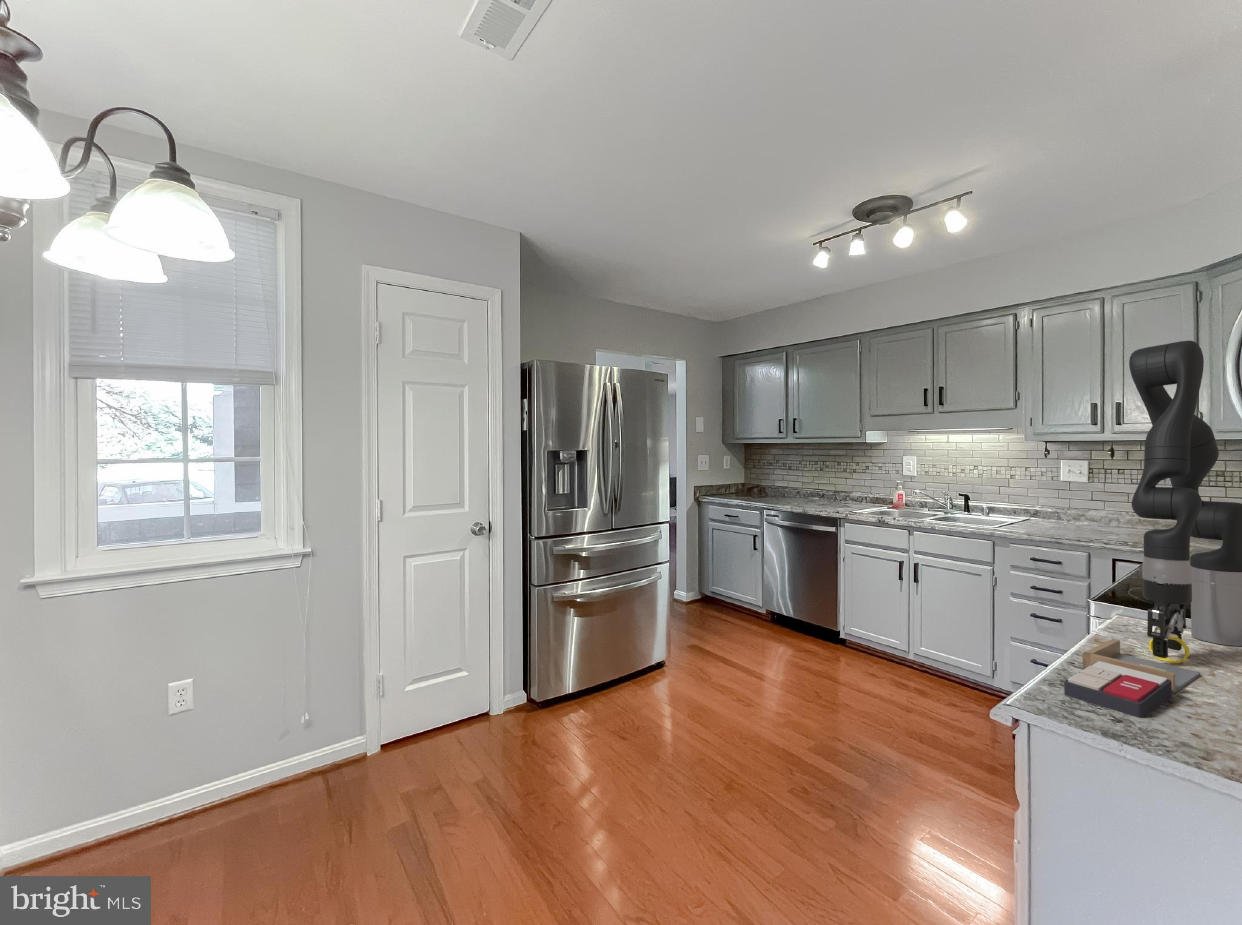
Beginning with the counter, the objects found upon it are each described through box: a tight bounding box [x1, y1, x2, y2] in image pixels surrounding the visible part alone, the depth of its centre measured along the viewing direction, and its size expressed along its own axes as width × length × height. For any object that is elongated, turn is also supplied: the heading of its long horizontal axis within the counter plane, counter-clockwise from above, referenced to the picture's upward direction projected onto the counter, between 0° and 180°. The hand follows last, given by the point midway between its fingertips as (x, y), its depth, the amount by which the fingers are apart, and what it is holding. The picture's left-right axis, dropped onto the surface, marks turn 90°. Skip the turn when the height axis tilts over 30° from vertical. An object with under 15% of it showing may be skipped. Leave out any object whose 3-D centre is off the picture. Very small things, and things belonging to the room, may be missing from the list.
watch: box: [1148, 633, 1190, 665], centre depth 116 cm, size 6×3×6 cm, turn 32°
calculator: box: [1063, 661, 1173, 719], centre depth 100 cm, size 11×4×15 cm
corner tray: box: [1082, 638, 1201, 694], centre depth 110 cm, size 16×14×4 cm
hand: (1167, 653), depth 116 cm, fingers open, 8 cm apart
